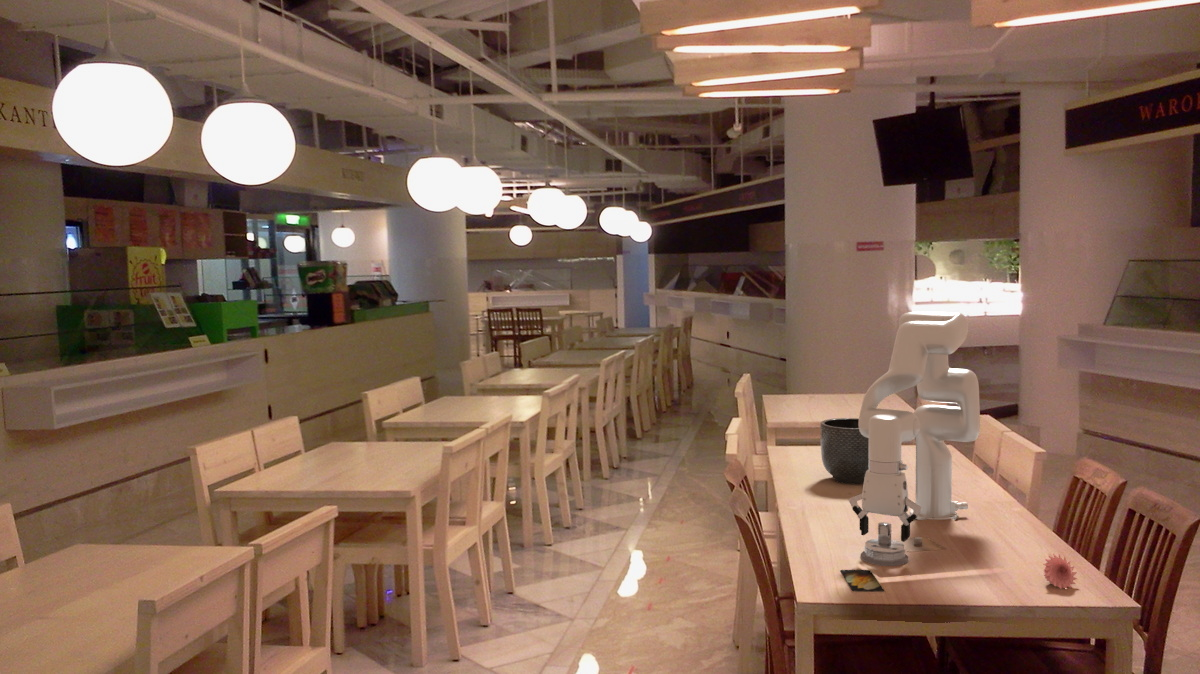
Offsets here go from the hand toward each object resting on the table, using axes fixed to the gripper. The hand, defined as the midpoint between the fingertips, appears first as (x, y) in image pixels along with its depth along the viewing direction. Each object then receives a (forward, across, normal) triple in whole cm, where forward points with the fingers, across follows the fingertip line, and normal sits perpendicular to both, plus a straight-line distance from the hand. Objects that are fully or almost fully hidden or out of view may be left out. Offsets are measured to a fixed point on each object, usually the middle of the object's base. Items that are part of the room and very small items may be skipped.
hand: (884, 537), depth 225 cm
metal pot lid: (+6, 0, 0) cm, 6 cm away
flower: (+6, -38, -5) cm, 38 cm away
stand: (+6, -4, -15) cm, 16 cm away
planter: (+6, +36, -74) cm, 83 cm away
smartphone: (+7, 0, +16) cm, 17 cm away
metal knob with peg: (+5, 0, 0) cm, 5 cm away
